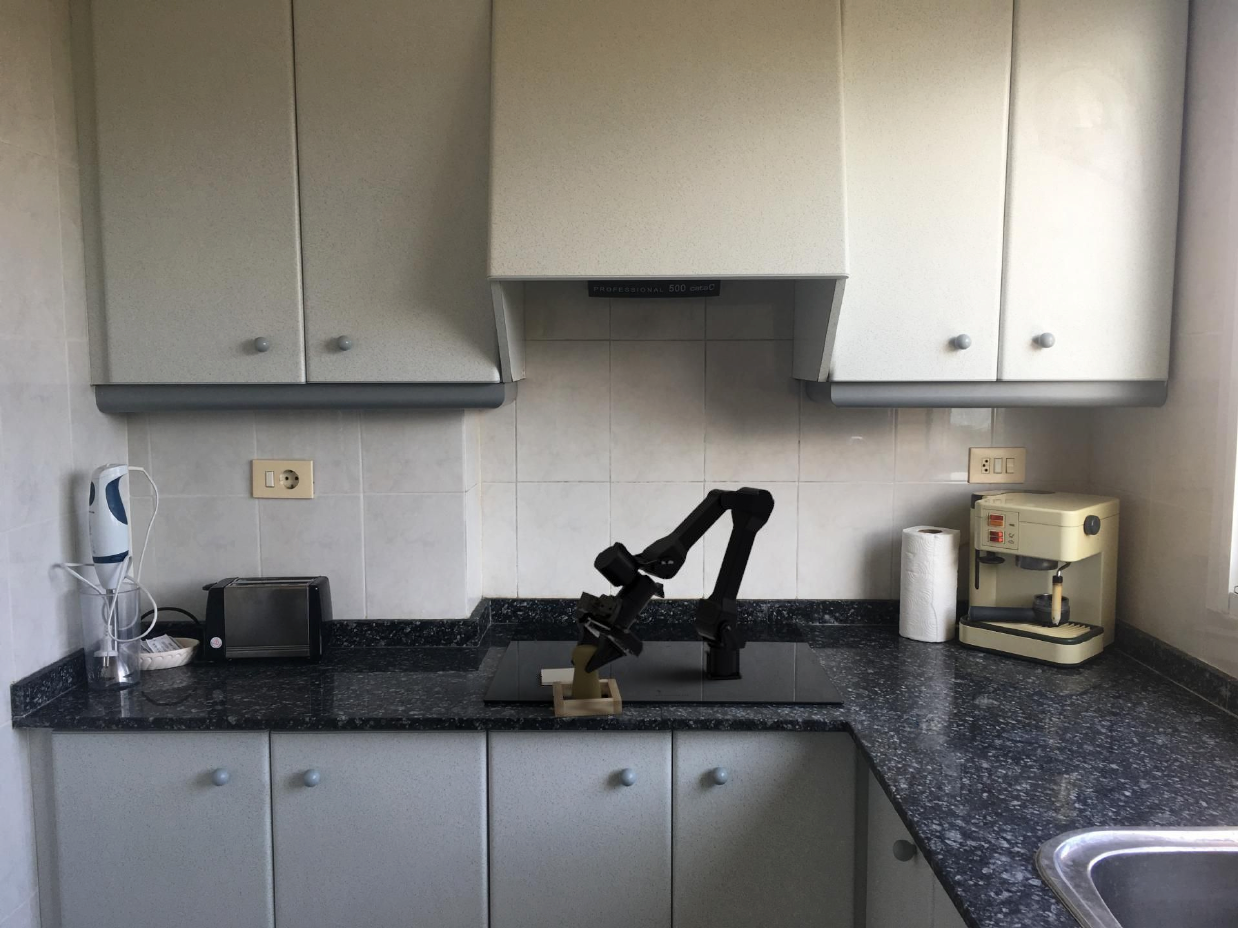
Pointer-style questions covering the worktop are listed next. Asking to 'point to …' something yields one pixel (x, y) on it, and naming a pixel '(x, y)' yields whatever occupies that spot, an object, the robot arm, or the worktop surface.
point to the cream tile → (556, 675)
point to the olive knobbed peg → (584, 675)
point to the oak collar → (587, 700)
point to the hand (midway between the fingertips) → (579, 667)
